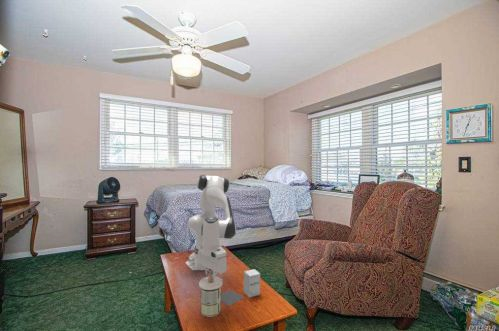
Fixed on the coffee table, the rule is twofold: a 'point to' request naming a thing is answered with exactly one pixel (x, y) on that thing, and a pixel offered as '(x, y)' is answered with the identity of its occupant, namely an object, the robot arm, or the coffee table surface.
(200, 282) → the lid
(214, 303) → the coffee can
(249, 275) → the supplement box
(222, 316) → the coffee table surface
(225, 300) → the mat
